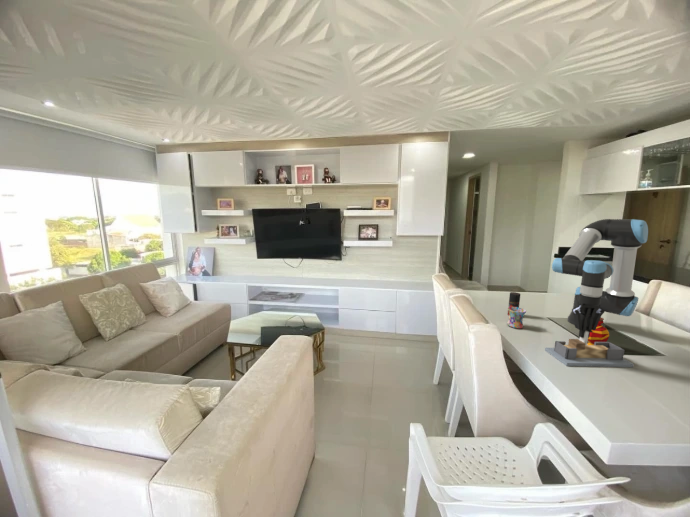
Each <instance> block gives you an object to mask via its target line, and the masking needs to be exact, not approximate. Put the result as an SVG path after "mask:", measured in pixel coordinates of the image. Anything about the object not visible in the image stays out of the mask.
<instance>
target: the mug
mask: <svg viewBox="0 0 690 517" xmlns="http://www.w3.org/2000/svg"><path fill="white" fill-rule="evenodd" d="M508 310H509V317H508V321H507V322H506V325H507V326H508V327H510V328H513V329H523V328H524V324H523V319H524V316H525V314H526V313H527V310H526V309H524V308H522V307H519V308H518V307H507V311H508Z"/></svg>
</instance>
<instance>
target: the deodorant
mask: <svg viewBox="0 0 690 517" xmlns="http://www.w3.org/2000/svg"><path fill="white" fill-rule="evenodd" d="M508 298H509V299H508V307H518V308H520V300H521V293H519V292H515V291H513V292H512V291H510V292H509V297H508ZM508 307H507V308H508ZM507 316H509V310H508V309H507Z"/></svg>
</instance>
